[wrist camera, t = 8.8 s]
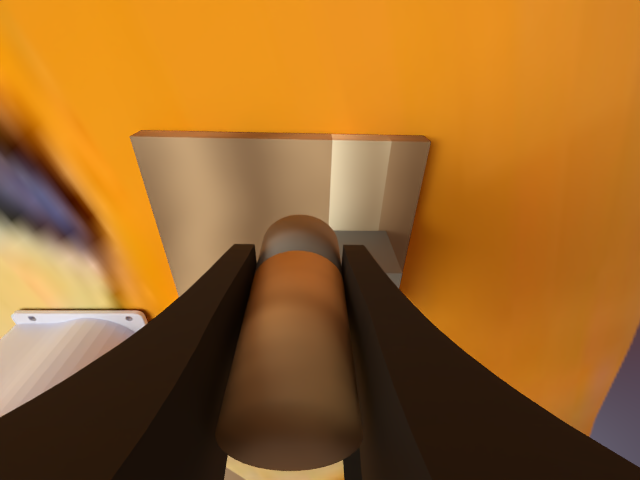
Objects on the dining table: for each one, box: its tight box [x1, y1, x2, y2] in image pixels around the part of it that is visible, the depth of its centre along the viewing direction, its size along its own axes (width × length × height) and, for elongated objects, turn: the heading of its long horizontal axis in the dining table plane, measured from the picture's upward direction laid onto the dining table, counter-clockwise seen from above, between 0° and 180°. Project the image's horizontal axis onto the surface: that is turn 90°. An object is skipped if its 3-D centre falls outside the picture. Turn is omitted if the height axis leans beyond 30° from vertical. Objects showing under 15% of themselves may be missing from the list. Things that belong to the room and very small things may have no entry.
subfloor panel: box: [130, 130, 431, 297], centre depth 19 cm, size 15×12×1 cm
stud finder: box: [333, 230, 402, 288], centre depth 18 cm, size 4×6×4 cm, turn 179°
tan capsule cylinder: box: [215, 215, 363, 471], centre depth 8 cm, size 3×3×6 cm
